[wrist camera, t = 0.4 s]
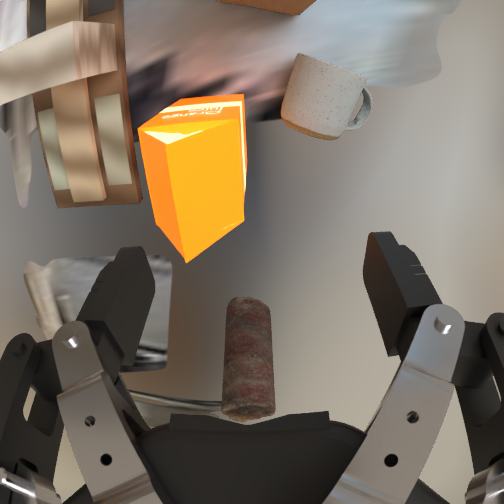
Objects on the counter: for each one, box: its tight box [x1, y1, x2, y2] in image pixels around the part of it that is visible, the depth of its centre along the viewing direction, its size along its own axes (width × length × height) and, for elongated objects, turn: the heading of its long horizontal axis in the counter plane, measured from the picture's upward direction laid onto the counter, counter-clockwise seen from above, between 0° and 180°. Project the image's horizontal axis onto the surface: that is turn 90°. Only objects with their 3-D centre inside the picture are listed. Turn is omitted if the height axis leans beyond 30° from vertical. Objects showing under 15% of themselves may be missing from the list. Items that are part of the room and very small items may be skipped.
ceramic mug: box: [281, 53, 373, 140], centre depth 29 cm, size 11×8×8 cm
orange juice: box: [138, 94, 247, 263], centre depth 27 cm, size 8×9×20 cm
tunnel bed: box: [0, 0, 143, 208], centre depth 24 cm, size 42×14×11 cm, turn 0°
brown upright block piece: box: [222, 297, 275, 422], centre depth 45 cm, size 8×7×20 cm
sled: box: [46, 0, 106, 202], centre depth 24 cm, size 39×7×6 cm, turn 0°
